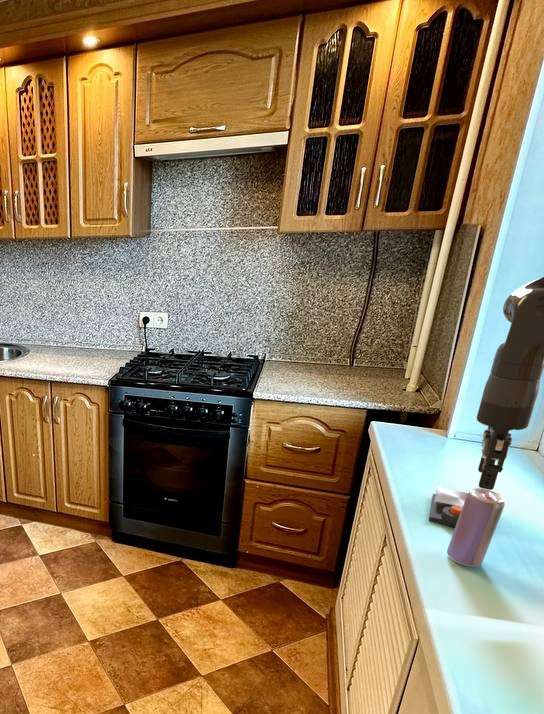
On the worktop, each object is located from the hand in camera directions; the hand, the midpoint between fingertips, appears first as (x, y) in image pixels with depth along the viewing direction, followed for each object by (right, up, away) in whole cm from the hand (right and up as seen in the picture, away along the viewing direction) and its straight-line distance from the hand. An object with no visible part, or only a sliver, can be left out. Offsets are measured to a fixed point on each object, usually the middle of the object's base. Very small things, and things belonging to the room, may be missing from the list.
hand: (484, 480), depth 101 cm
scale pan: (+13, -7, +24) cm, 28 cm away
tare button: (+8, -9, +18) cm, 22 cm away
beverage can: (+1, -17, +6) cm, 18 cm away
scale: (+11, -11, +23) cm, 28 cm away
